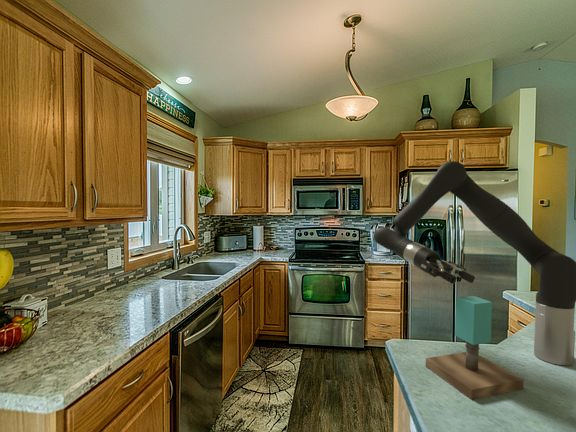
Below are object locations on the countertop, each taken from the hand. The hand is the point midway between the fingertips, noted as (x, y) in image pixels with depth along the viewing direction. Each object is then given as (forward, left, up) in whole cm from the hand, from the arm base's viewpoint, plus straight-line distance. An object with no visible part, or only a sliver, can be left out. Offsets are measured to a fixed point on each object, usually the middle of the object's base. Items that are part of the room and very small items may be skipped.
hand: (464, 280), depth 90 cm
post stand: (+2, +5, -26) cm, 26 cm away
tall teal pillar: (+2, +5, -15) cm, 16 cm away
